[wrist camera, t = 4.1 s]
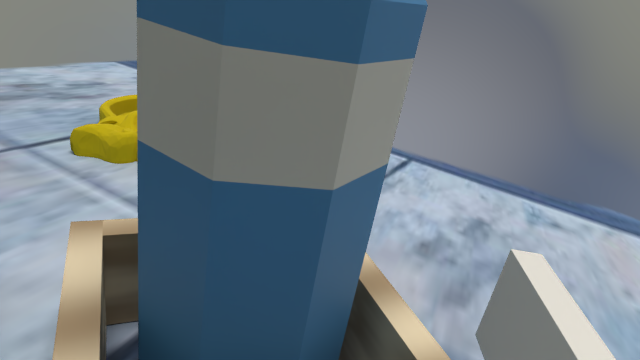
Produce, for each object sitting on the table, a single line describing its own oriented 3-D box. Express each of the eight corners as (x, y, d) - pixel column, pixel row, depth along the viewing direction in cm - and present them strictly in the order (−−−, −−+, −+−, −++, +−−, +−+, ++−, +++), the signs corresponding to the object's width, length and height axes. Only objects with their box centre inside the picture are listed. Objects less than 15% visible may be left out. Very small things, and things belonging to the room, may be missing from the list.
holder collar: (77, 310, 26) (70, 221, 23) (315, 280, 32) (330, 207, 30) (49, 645, 14) (28, 535, 11) (440, 493, 20) (483, 400, 17)
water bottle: (276, 308, 29) (353, -164, 18) (361, 432, 22) (559, -208, 12) (120, 351, 24) (102, -261, 13) (165, 529, 17) (202, -441, 7)
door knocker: (124, 110, 58) (124, 77, 56) (249, 128, 59) (252, 97, 57) (58, 159, 43) (54, 117, 41) (226, 182, 44) (229, 142, 42)
